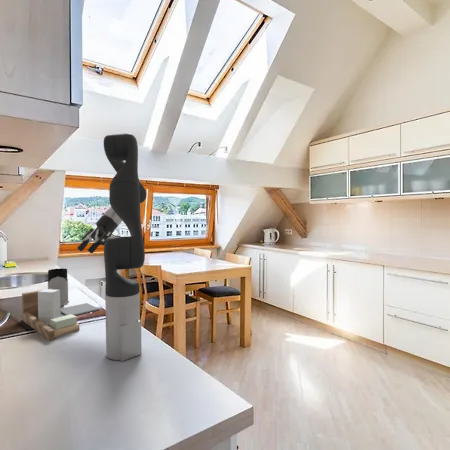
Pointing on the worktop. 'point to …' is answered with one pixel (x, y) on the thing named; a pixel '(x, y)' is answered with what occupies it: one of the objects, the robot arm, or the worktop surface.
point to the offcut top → (63, 321)
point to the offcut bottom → (66, 330)
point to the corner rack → (34, 315)
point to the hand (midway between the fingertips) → (84, 250)
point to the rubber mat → (78, 309)
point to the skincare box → (48, 305)
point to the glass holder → (59, 283)
